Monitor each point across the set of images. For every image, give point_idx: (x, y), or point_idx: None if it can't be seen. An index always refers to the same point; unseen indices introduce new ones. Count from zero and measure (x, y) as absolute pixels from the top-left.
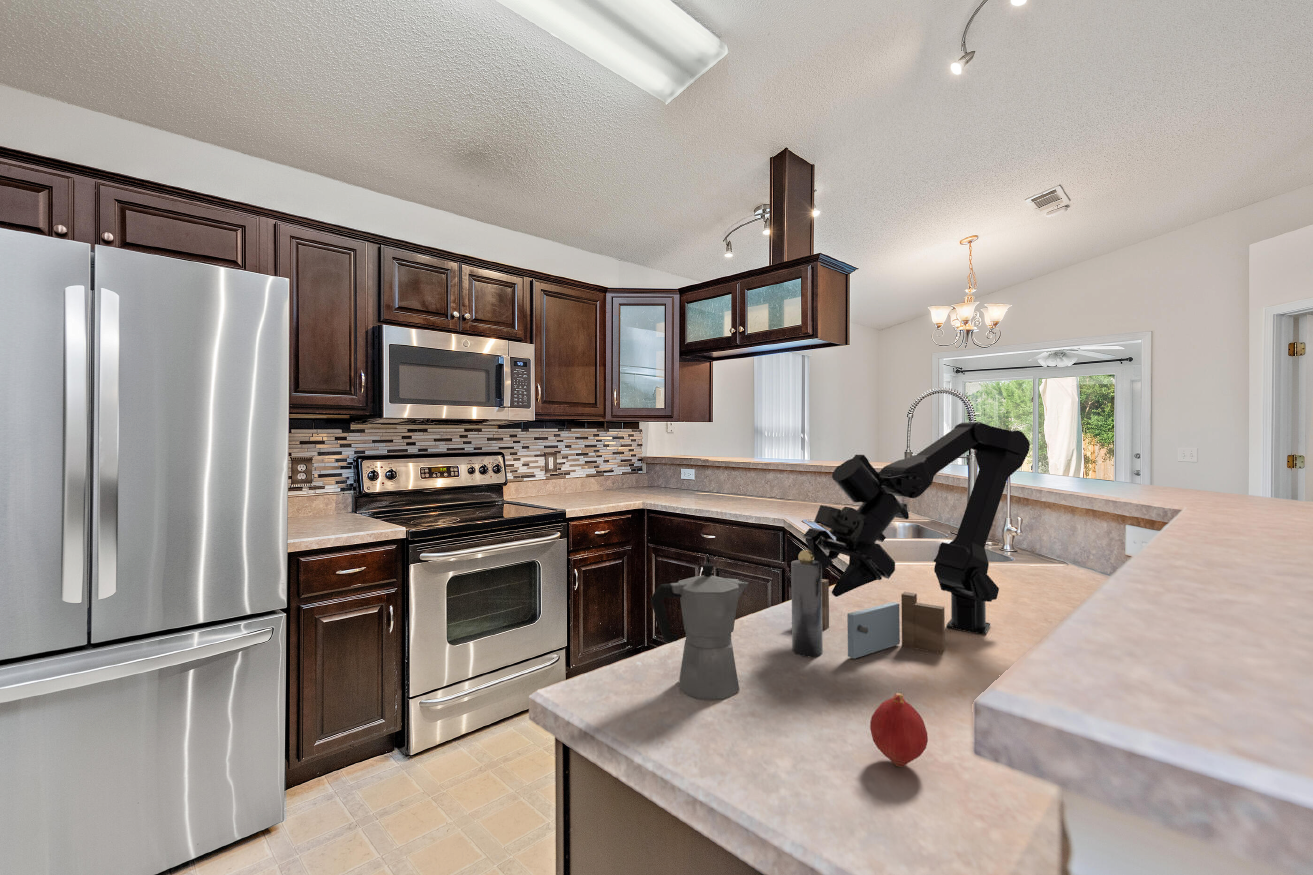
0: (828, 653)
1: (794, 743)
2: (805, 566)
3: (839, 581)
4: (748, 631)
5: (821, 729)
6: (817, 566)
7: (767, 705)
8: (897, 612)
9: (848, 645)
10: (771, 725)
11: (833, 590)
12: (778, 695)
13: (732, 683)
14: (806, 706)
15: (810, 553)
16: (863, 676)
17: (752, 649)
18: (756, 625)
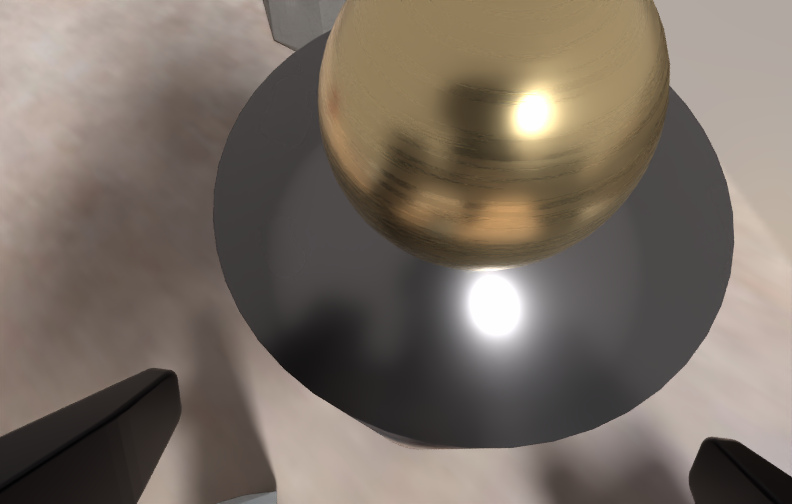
0: (360, 449)
1: (43, 27)
2: (304, 57)
3: (39, 439)
4: None
5: (33, 93)
6: (221, 206)
7: (186, 61)
8: None
9: (257, 496)
10: (119, 27)
11: (144, 377)
12: (207, 104)
13: (266, 3)
14: (122, 125)
15: (350, 31)
16: None
17: None
18: (788, 381)
